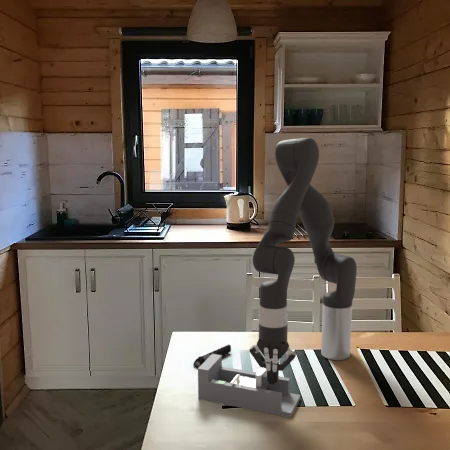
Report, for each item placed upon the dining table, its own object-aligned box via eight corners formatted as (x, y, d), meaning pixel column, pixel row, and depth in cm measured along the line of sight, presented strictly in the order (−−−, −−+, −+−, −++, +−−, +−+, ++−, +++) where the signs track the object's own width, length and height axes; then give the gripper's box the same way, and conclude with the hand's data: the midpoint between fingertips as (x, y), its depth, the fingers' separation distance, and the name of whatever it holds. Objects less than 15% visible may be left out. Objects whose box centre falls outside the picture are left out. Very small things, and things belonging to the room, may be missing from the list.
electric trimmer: (234, 354, 175) (234, 345, 175) (201, 370, 164) (201, 360, 163) (225, 351, 178) (225, 342, 177) (192, 366, 167) (192, 357, 166)
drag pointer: (238, 386, 151) (238, 369, 149) (244, 388, 150) (244, 370, 149) (227, 400, 143) (227, 382, 142) (234, 402, 142) (234, 383, 141)
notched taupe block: (244, 388, 150) (245, 362, 148) (267, 392, 147) (267, 366, 146) (237, 398, 144) (237, 371, 143) (261, 402, 142) (261, 375, 140)
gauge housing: (212, 382, 156) (212, 353, 154) (300, 399, 146) (301, 368, 145) (198, 399, 147) (197, 368, 145) (291, 417, 137) (291, 385, 136)
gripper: (301, 319, 141) (300, 380, 144) (253, 313, 145) (253, 373, 149) (294, 329, 134) (293, 393, 137) (244, 323, 139) (244, 385, 142)
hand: (272, 382), depth 143 cm, fingers closed
